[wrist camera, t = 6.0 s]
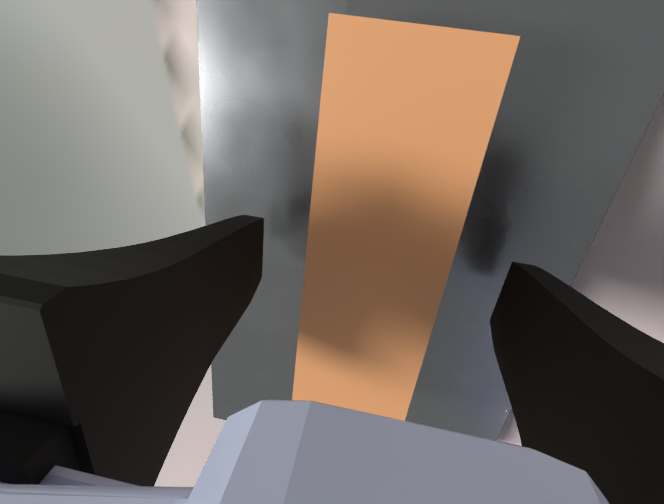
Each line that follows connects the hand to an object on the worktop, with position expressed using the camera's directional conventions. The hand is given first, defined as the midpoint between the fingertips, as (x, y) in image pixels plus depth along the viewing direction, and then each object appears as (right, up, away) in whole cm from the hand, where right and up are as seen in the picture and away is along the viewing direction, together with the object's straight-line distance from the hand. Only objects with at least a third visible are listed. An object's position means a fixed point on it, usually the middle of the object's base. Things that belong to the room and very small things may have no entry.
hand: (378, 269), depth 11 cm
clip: (0, +2, +3) cm, 3 cm away
